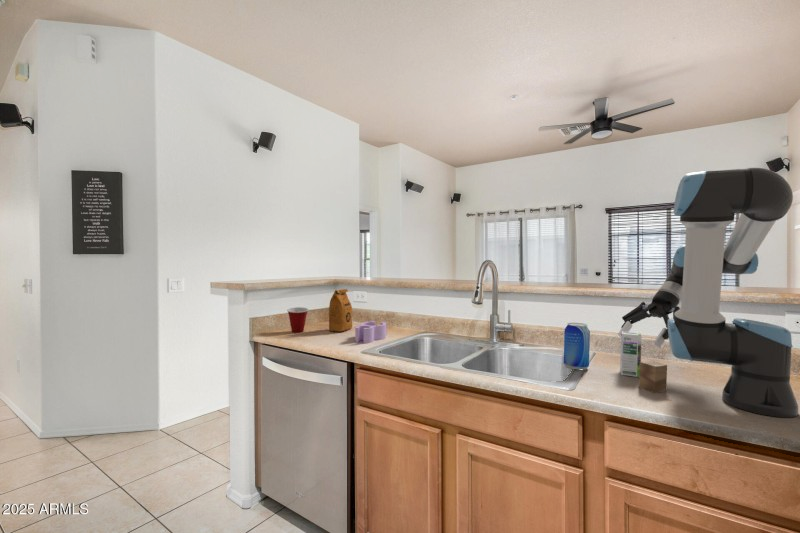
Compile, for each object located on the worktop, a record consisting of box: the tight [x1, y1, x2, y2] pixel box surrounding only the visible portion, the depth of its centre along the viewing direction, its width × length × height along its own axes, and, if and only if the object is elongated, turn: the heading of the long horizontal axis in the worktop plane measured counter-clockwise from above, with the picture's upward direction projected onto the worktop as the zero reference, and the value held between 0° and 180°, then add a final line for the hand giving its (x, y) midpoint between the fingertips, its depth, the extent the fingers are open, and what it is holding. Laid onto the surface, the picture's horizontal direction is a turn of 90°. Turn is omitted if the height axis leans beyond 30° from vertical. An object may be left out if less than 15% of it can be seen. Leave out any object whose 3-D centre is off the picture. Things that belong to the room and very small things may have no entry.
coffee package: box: [328, 288, 353, 333], centre depth 199 cm, size 10×12×22 cm
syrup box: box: [619, 331, 642, 378], centre depth 130 cm, size 6×6×14 cm
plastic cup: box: [286, 306, 309, 334], centre depth 195 cm, size 11×11×12 cm
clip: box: [354, 320, 388, 344], centre depth 181 cm, size 20×12×7 cm, turn 157°
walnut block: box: [638, 360, 668, 394], centre depth 116 cm, size 5×5×8 cm
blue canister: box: [563, 322, 591, 371], centre depth 137 cm, size 8×8×16 cm
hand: (637, 340), depth 133 cm, fingers open, 13 cm apart
